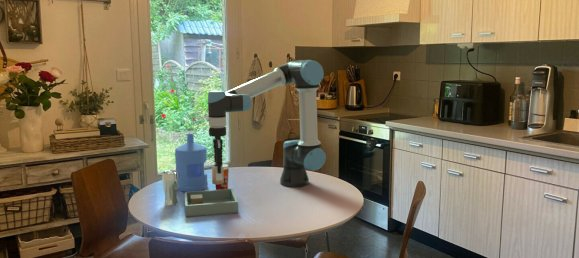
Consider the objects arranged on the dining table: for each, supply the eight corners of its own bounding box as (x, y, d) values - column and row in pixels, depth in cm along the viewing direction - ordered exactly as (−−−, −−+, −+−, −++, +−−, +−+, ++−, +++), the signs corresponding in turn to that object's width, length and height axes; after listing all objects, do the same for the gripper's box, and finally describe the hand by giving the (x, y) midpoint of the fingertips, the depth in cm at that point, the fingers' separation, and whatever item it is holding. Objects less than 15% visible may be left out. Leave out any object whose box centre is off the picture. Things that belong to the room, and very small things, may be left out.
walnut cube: (191, 206, 199) (190, 195, 198) (202, 205, 200) (202, 194, 199) (191, 209, 194) (190, 198, 193) (203, 208, 195) (202, 197, 194)
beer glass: (182, 202, 205) (180, 170, 203) (173, 207, 199) (172, 174, 197) (169, 200, 208) (167, 169, 205) (160, 205, 201) (158, 173, 199)
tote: (232, 198, 210) (232, 188, 210) (238, 212, 191) (238, 201, 191) (184, 202, 205) (184, 192, 204) (185, 217, 186) (185, 205, 185)
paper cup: (226, 195, 215) (226, 167, 213) (211, 194, 217) (210, 166, 214) (232, 191, 223) (231, 163, 220) (217, 190, 224) (216, 163, 222)
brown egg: (223, 181, 200) (223, 165, 199) (224, 184, 196) (224, 168, 194) (211, 181, 199) (211, 166, 198) (212, 184, 194) (212, 169, 193)
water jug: (170, 190, 223) (167, 135, 219) (188, 182, 238) (186, 131, 233) (196, 194, 218) (194, 137, 213) (213, 185, 232) (211, 132, 228)
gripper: (207, 123, 201) (208, 174, 205) (210, 130, 184) (211, 184, 188) (224, 123, 203) (225, 173, 207) (228, 129, 186) (229, 183, 189)
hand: (218, 178), depth 197 cm, fingers closed on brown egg, 5 cm apart
